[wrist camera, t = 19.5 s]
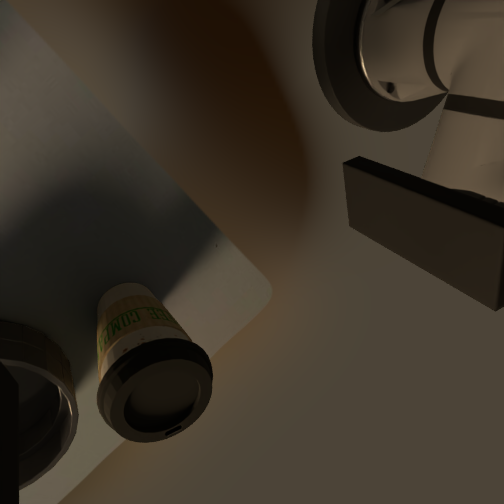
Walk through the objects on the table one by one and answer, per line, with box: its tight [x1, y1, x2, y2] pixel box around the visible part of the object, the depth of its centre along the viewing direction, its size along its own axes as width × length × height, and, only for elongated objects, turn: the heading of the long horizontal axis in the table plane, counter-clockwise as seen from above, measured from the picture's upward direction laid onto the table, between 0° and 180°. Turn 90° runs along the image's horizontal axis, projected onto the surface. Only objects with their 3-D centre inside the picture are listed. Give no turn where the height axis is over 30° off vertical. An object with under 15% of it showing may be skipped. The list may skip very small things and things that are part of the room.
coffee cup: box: [97, 283, 213, 443], centre depth 41 cm, size 10×10×15 cm
